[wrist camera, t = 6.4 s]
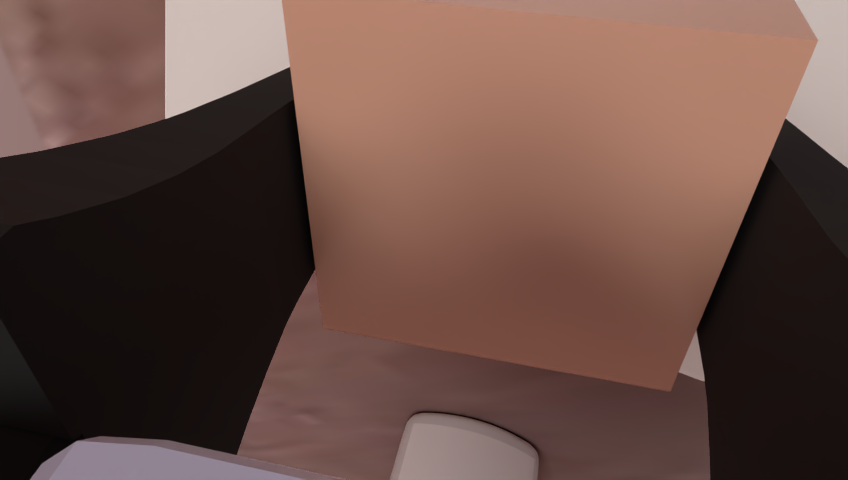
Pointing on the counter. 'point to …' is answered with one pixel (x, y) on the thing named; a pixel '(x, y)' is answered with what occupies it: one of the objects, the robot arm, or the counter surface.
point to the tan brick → (536, 168)
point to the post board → (268, 54)
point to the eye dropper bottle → (461, 451)
